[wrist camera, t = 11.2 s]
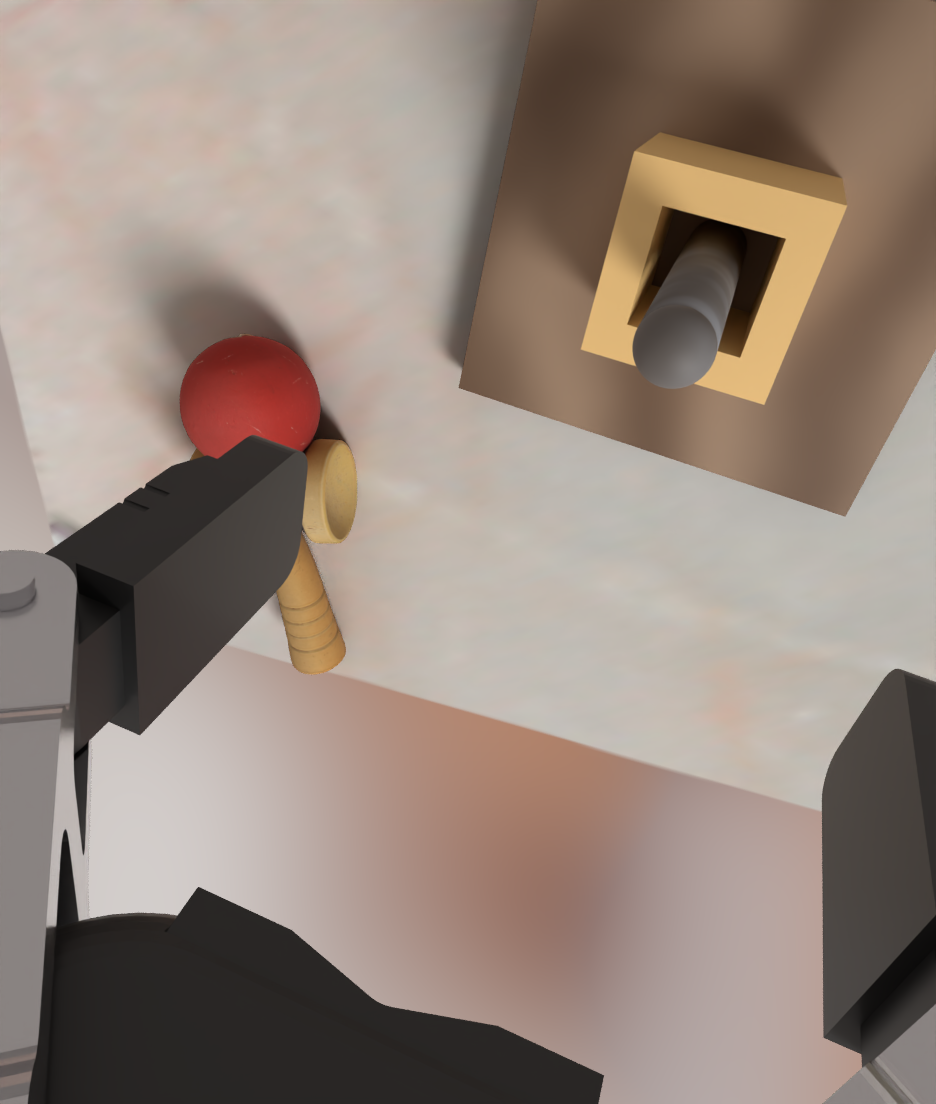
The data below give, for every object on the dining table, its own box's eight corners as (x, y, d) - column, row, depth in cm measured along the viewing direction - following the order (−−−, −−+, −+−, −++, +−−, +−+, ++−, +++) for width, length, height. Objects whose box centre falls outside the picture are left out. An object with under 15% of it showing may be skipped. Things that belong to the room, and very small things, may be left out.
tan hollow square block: (842, 178, 27) (847, 205, 23) (770, 354, 31) (763, 405, 27) (660, 132, 28) (634, 151, 24) (610, 307, 32) (580, 349, 28)
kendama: (416, 633, 47) (350, 322, 36) (351, 714, 43) (253, 392, 32) (305, 599, 50) (214, 305, 39) (235, 671, 46) (110, 367, 35)
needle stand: (1088, 38, 25) (1303, 53, 14) (843, 498, 34) (858, 723, 23) (566, -82, 27) (404, -149, 17) (470, 375, 37) (325, 525, 26)
